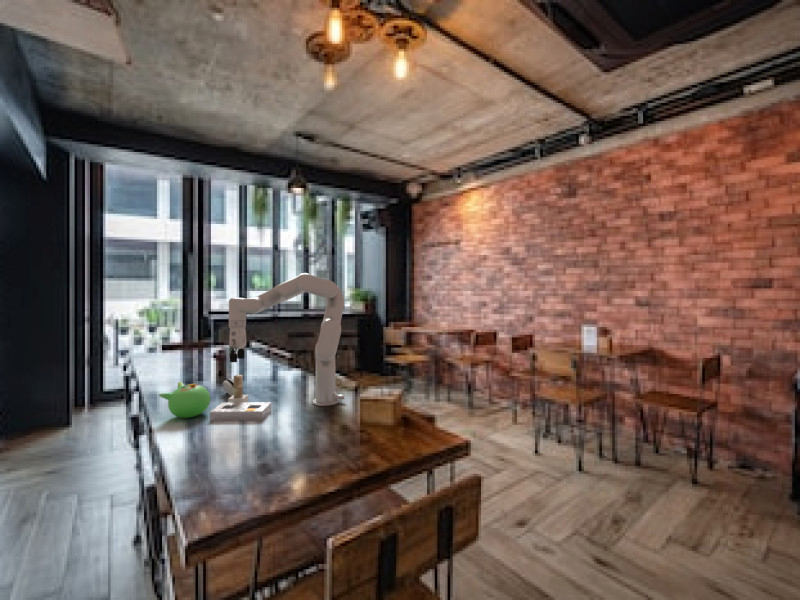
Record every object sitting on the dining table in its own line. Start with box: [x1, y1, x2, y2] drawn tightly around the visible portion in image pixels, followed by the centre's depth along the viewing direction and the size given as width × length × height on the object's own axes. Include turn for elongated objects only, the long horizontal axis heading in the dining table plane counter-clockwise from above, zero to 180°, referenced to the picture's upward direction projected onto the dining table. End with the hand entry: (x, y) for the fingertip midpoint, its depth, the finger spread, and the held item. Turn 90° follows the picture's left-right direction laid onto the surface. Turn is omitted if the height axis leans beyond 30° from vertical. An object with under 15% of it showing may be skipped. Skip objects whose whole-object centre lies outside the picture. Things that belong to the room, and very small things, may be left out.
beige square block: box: [227, 394, 249, 403], centre depth 197 cm, size 7×7×5 cm
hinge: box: [222, 378, 245, 397], centre depth 217 cm, size 17×5×10 cm, turn 38°
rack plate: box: [209, 401, 272, 422], centre depth 184 cm, size 22×14×4 cm, turn 92°
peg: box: [233, 374, 244, 398], centre depth 197 cm, size 4×4×10 cm
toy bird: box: [158, 381, 211, 419], centre depth 183 cm, size 18×17×15 cm
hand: (237, 360), depth 196 cm, fingers open, 9 cm apart
